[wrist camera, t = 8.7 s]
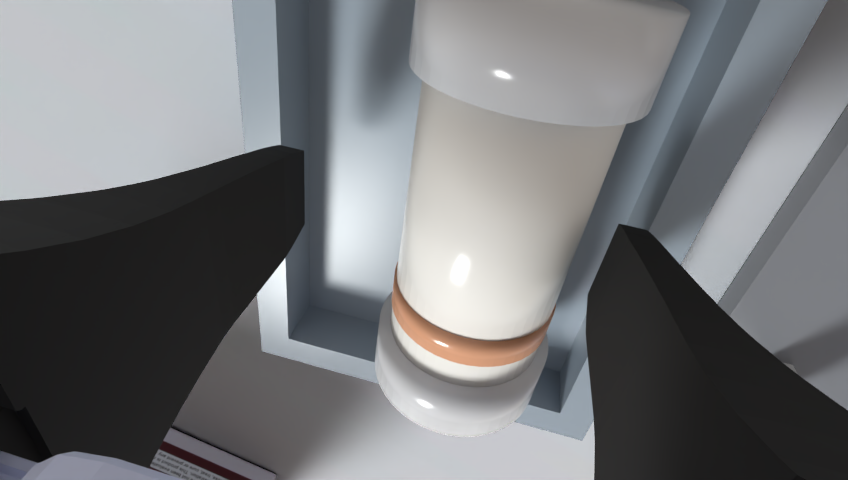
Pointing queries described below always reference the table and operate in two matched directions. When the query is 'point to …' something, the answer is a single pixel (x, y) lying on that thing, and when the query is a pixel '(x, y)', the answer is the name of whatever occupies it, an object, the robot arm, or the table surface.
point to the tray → (392, 153)
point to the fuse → (506, 190)
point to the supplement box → (202, 461)
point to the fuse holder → (803, 275)
